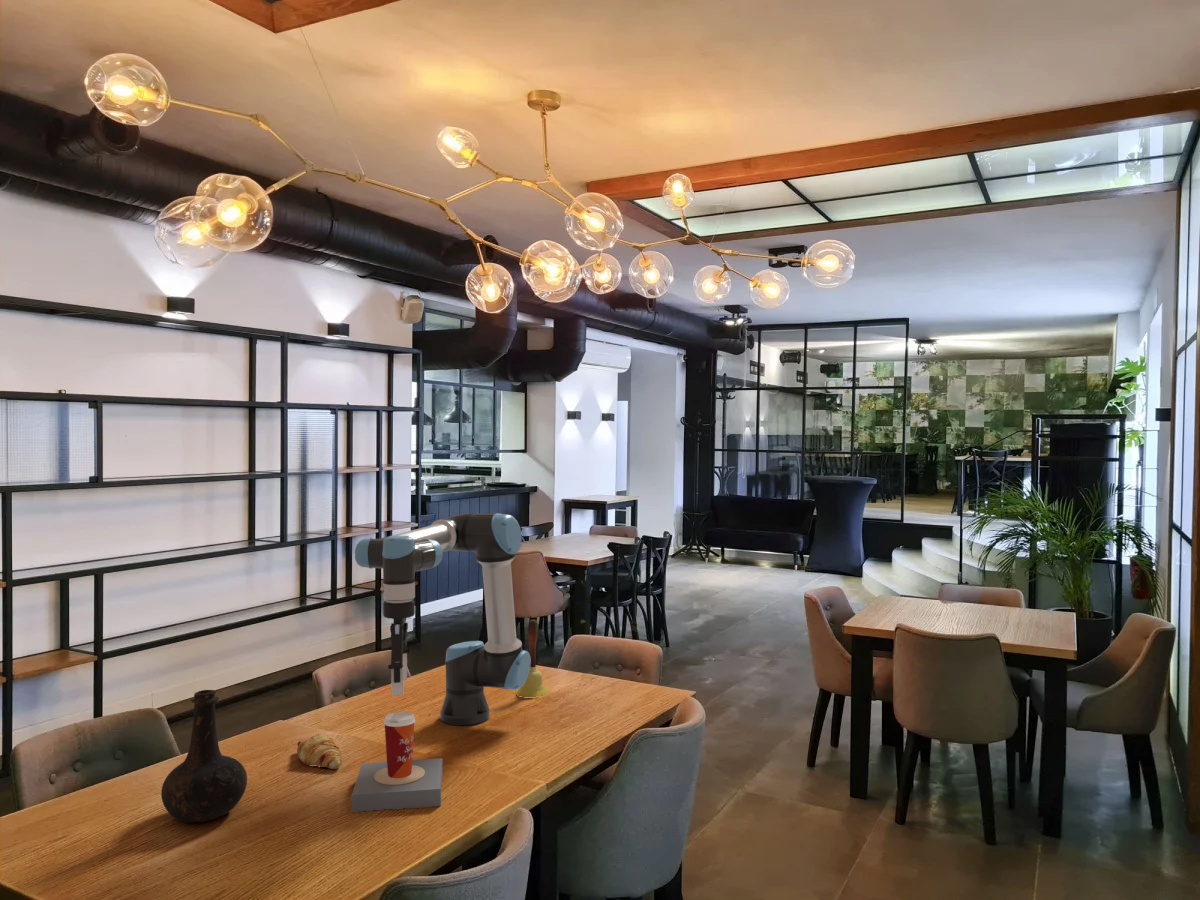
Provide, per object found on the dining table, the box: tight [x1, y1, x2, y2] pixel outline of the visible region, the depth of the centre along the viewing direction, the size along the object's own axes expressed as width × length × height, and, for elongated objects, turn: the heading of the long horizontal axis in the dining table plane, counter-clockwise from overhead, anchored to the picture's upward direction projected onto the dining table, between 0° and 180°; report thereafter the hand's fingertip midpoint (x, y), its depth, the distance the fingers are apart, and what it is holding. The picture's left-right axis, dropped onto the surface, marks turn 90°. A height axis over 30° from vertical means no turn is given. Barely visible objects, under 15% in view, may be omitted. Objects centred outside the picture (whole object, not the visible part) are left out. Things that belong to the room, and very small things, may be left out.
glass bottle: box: [161, 689, 248, 823], centre depth 191 cm, size 18×18×28 cm
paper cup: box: [382, 711, 416, 778], centre depth 203 cm, size 8×8×14 cm
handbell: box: [514, 619, 551, 697], centre depth 286 cm, size 12×12×25 cm
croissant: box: [296, 733, 343, 770], centre depth 224 cm, size 21×10×8 cm, turn 47°
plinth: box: [351, 757, 443, 813], centre depth 203 cm, size 20×20×4 cm
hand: (399, 687), depth 203 cm, fingers open, 13 cm apart
